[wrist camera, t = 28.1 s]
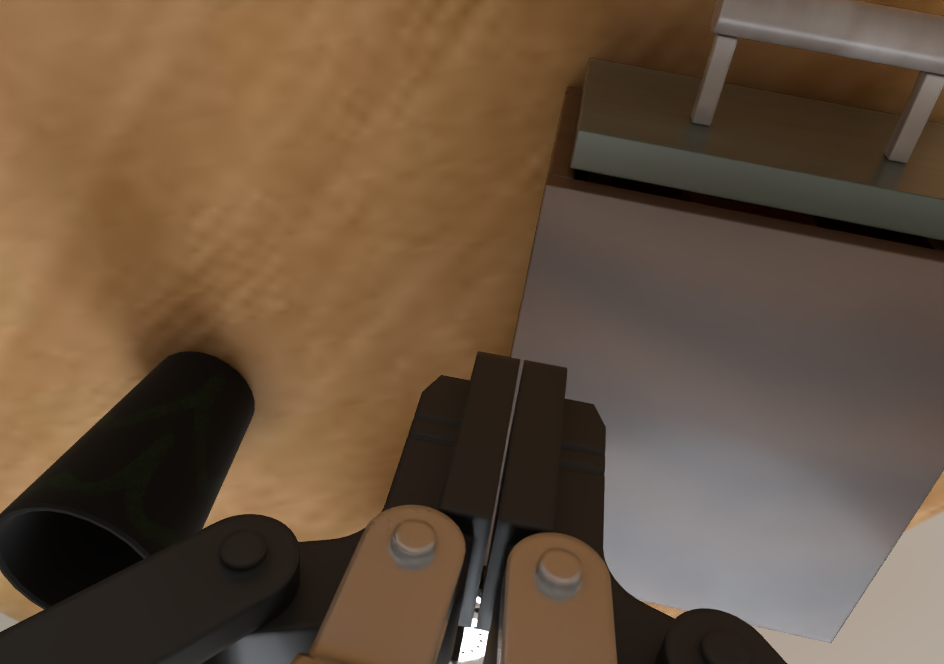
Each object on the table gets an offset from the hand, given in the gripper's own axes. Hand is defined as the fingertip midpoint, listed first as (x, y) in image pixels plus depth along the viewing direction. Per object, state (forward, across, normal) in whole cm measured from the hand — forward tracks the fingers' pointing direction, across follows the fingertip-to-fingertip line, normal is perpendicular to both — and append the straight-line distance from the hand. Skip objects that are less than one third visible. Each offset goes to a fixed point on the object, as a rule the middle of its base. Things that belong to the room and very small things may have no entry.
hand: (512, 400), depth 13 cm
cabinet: (+20, -7, +10) cm, 24 cm away
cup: (+21, +16, +20) cm, 33 cm away
